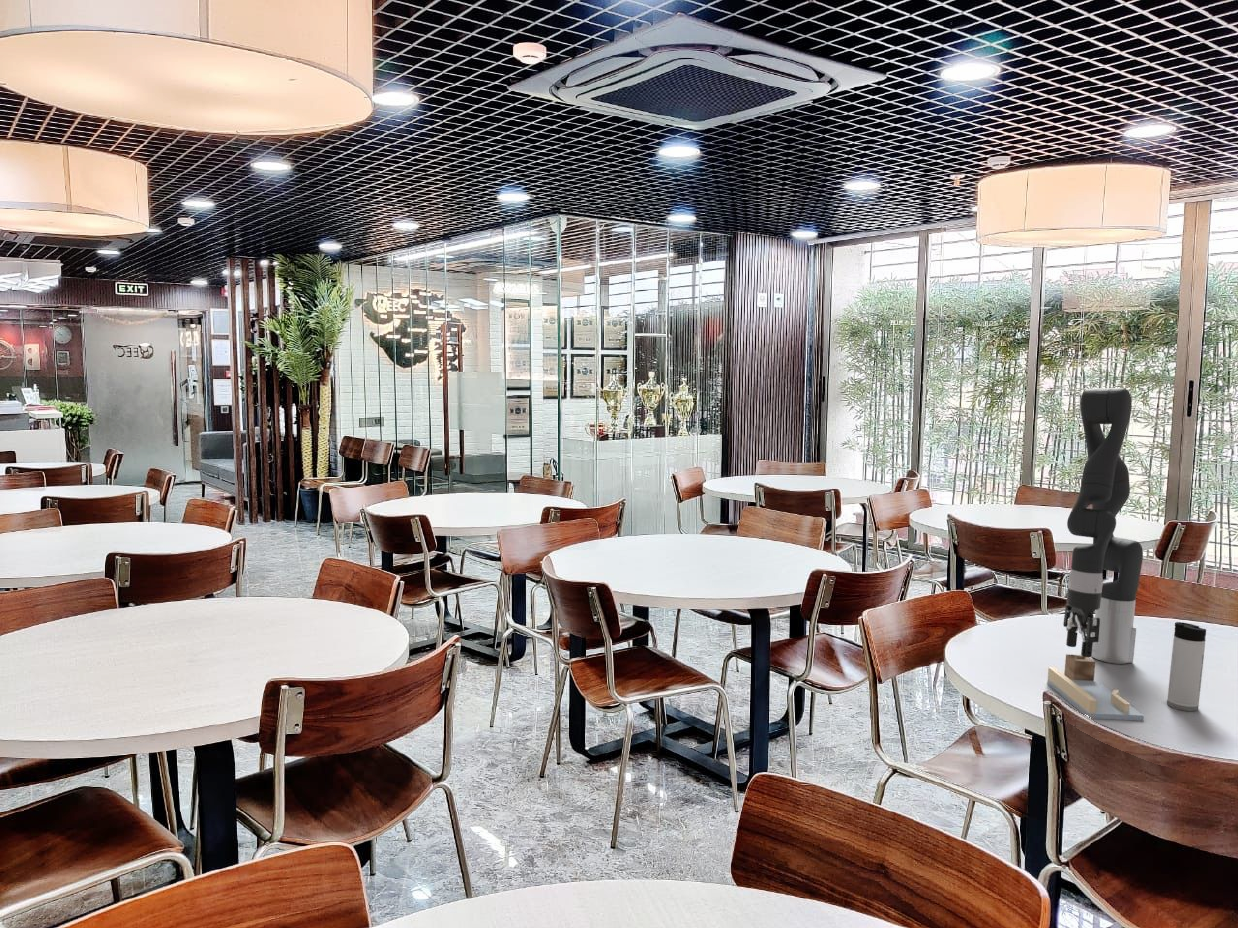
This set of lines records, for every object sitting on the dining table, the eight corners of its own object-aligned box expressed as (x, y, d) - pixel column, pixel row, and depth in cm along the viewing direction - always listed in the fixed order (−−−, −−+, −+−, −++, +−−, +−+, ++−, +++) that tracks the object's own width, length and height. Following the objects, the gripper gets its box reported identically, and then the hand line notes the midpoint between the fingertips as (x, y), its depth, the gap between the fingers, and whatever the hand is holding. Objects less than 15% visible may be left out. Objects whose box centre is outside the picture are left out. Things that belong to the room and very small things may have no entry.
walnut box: (1084, 677, 230) (1086, 652, 229) (1093, 684, 225) (1095, 659, 224) (1064, 677, 230) (1066, 652, 229) (1072, 684, 225) (1075, 658, 224)
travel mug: (1159, 701, 214) (1167, 619, 212) (1185, 701, 215) (1194, 619, 213) (1177, 711, 208) (1186, 627, 206) (1204, 711, 209) (1213, 627, 206)
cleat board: (1096, 685, 224) (1097, 669, 224) (1143, 720, 202) (1145, 702, 202) (1047, 683, 225) (1048, 667, 224) (1088, 718, 203) (1090, 700, 202)
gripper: (1114, 596, 217) (1107, 661, 219) (1087, 582, 232) (1081, 643, 233) (1082, 594, 218) (1075, 659, 220) (1057, 580, 232) (1051, 642, 234)
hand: (1078, 651), depth 226 cm, fingers open, 8 cm apart
